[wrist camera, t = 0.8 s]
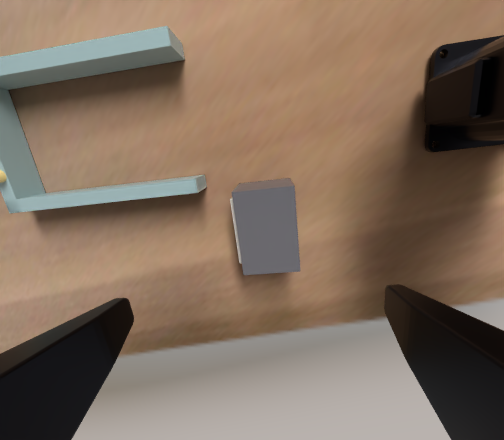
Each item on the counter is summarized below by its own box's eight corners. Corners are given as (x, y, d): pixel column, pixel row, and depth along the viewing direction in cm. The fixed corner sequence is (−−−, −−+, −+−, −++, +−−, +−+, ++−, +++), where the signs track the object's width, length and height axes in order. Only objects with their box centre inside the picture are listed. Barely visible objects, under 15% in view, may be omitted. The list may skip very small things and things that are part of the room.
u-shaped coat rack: (181, 43, 17) (162, 19, 14) (206, 187, 19) (195, 194, 16) (-9, 77, 18) (-66, 63, 15) (39, 205, 21) (0, 215, 18)
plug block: (289, 177, 19) (294, 185, 15) (294, 248, 21) (300, 271, 17) (235, 183, 19) (227, 192, 16) (245, 252, 21) (239, 275, 17)
